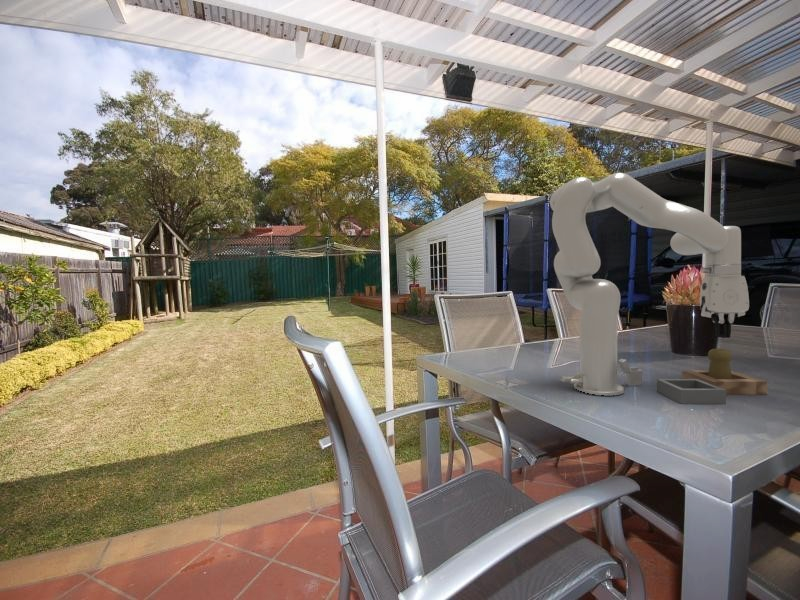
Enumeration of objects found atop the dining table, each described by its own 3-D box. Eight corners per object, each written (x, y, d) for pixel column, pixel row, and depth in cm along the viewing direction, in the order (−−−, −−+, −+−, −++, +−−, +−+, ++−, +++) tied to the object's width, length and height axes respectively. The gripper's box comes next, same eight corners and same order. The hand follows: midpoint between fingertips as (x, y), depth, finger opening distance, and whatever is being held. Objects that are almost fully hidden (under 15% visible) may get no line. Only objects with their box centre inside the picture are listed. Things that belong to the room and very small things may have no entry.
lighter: (637, 383, 113) (637, 357, 113) (642, 384, 112) (642, 358, 111) (617, 385, 112) (617, 358, 111) (622, 387, 110) (622, 359, 110)
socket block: (713, 394, 100) (713, 381, 100) (682, 381, 113) (682, 370, 113) (766, 394, 99) (767, 381, 99) (728, 381, 112) (729, 370, 112)
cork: (739, 391, 103) (739, 351, 102) (712, 390, 104) (713, 351, 104) (726, 385, 108) (726, 347, 108) (701, 384, 110) (701, 347, 109)
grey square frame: (681, 403, 94) (681, 389, 94) (657, 391, 104) (656, 379, 104) (726, 403, 93) (726, 389, 93) (697, 391, 103) (697, 379, 103)
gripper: (703, 272, 102) (703, 339, 103) (763, 270, 100) (763, 338, 101) (685, 273, 109) (685, 336, 110) (741, 270, 108) (741, 334, 109)
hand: (723, 337), depth 106 cm, fingers closed
